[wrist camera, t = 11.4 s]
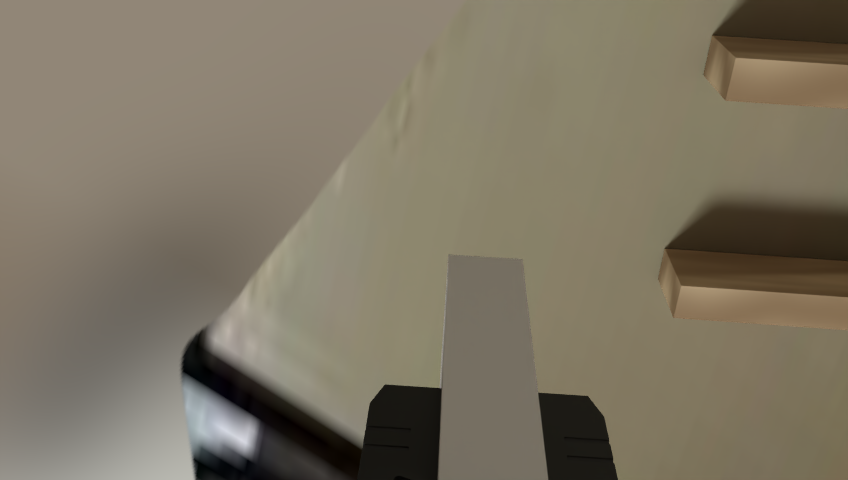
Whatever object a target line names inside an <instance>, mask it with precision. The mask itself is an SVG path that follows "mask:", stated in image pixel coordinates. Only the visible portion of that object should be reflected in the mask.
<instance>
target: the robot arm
mask: <svg viewBox="0 0 848 480" xmlns="http://www.w3.org/2000/svg"><path fill="white" fill-rule="evenodd" d="M357 480H618V478H617V474H616V469H615V464H614V463H613V455H612V451H611V446H610V444H609V437H608V433H607V428H606V423H605V419H604V416H603V415H602V414H601V412H600V411H599V410H598V409H597V407H596V406H595V405H594V403H593V402H592V401H591V400H590V398H589V397H588V396H579V395H564V394H549V393H538V388H537V379H536V371H535V362H534V354H533V345H532V337H531V328H530V320H529V311H528V303H527V294H526V285H525V277H524V268H523V260H522V259H512V258H495V257H479V256H463V255H448V269H447V284H446V299H445V313H444V328H443V343H442V358H441V377H440V388H429V387H413V386H398V385H384V386H383V388H382V389H381V390H380V391H379V393H378V394H377V395H376V396H375V398H374V399H373V400H372V401H371V403H370V406H369V412H368V418H367V424H366V430H365V436H364V442H363V448H362V454H361V461H360V467H359V473H358V479H357Z"/></svg>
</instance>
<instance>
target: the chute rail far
mask: <svg viewBox="0 0 848 480" xmlns="http://www.w3.org/2000/svg"><path fill="white" fill-rule="evenodd" d="M658 280H659V282H660V285H661V288H662V290H663V293H664V295H665V298H666V300H667V303H668V305H669V308H670V310H671V313H672V315H673V318H683V319H697V320H711V321H726V322H740V323H754V324H768V325H782V326H796V327H811V328H825V329H839V330H848V261H839V260H824V259H810V258H795V257H781V256H766V255H752V254H737V253H723V252H708V251H694V250H679V249H665V250H664V255H663V259H662V264H661V268H660V273H659V277H658Z"/></svg>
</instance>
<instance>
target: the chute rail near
mask: <svg viewBox="0 0 848 480" xmlns="http://www.w3.org/2000/svg"><path fill="white" fill-rule="evenodd" d="M704 76H705V78H706V79H707V80H708V81H709V82H710V83H711V84H712V86H713V87H714V88H715V89H716V90H717V91H718V92H719V94H720V95H721V96H722V97H723V98H724V99H725V101H738V102H754V103H769V104H784V105H799V106H814V107H830V108H845V109H848V44H838V43H823V42H807V41H792V40H776V39H760V38H745V37H729V36H714V35H712V39H711V43H710V48H709V52H708V57H707V61H706V66H705V70H704Z"/></svg>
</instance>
